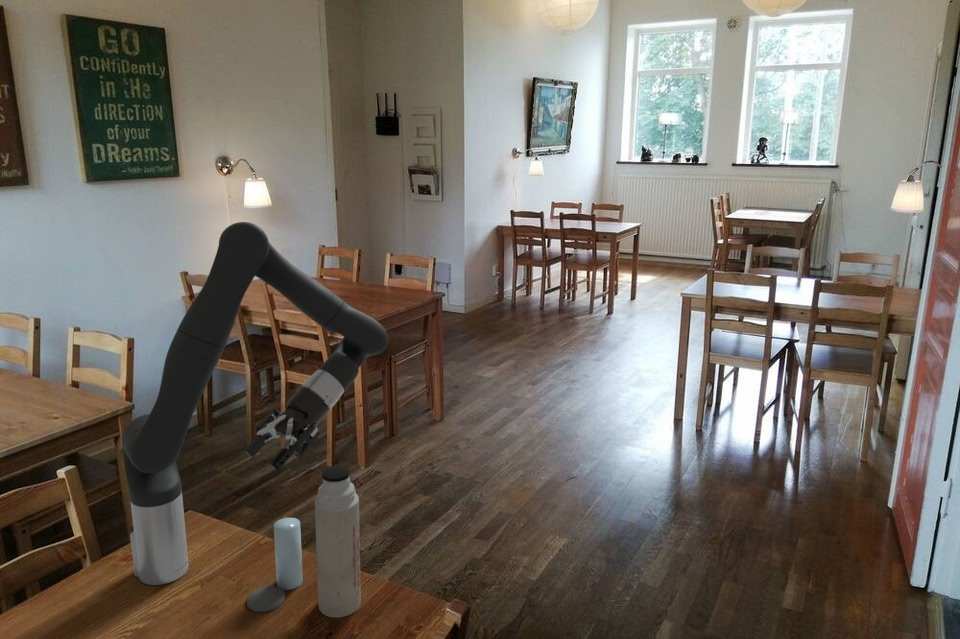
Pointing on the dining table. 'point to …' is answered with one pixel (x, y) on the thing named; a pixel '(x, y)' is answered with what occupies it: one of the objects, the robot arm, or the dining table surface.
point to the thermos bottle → (337, 544)
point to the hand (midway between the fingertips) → (260, 460)
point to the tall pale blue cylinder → (288, 553)
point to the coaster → (265, 599)
